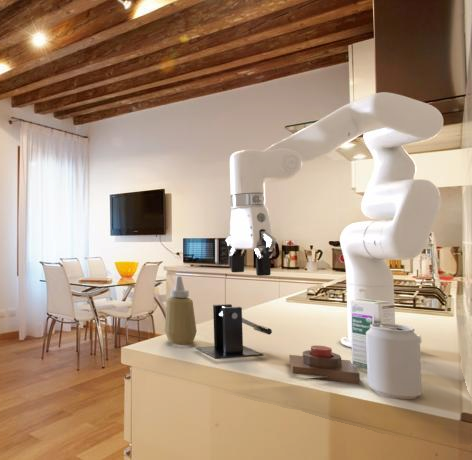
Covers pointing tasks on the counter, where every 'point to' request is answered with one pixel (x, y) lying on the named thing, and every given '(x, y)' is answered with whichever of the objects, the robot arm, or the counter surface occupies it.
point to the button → (321, 351)
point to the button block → (325, 368)
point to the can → (393, 360)
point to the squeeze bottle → (180, 316)
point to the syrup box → (367, 324)
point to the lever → (252, 325)
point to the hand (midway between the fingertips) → (250, 273)
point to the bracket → (228, 334)
